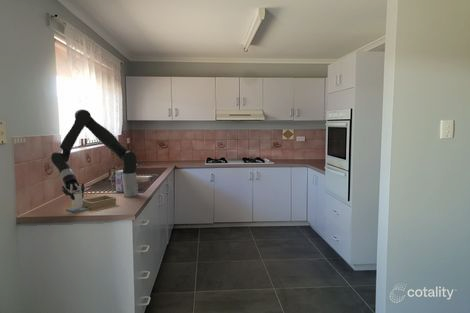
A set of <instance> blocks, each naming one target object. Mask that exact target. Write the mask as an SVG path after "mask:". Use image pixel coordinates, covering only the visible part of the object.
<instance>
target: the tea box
mask: <svg viewBox="0 0 470 313" xmlns="http://www.w3.org/2000/svg"><path fill="white" fill-rule="evenodd" d="M72 194H73V195H74V197H75V199H74V200H72V199H70V200H71V201H70V202H71V206H73V207H79V206H80V205H83V203H82V200H83V199H82V192H80V191H72Z"/></svg>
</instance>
